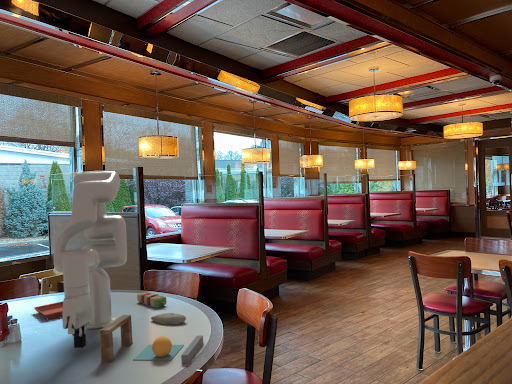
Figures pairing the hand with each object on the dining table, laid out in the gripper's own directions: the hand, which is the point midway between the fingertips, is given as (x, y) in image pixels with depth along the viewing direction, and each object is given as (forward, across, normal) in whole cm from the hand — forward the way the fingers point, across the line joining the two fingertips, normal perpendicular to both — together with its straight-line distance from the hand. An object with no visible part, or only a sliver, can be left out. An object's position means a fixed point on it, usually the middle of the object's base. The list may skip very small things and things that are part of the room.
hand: (80, 346), depth 135 cm
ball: (-2, +3, +29) cm, 29 cm away
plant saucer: (+3, -44, -36) cm, 57 cm away
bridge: (+2, 0, +13) cm, 13 cm away
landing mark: (+2, 0, +27) cm, 27 cm away
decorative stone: (+2, -30, +19) cm, 35 cm away
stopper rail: (+2, 0, +38) cm, 38 cm away
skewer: (+2, -54, +3) cm, 54 cm away
